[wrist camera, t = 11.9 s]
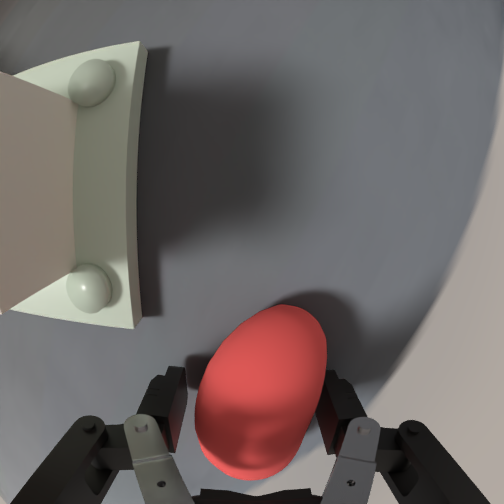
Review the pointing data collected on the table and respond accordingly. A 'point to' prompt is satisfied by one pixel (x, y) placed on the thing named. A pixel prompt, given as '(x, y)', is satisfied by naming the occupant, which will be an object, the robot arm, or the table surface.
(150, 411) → the robot arm
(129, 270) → the tower base
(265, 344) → the red bean shape
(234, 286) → the table surface
